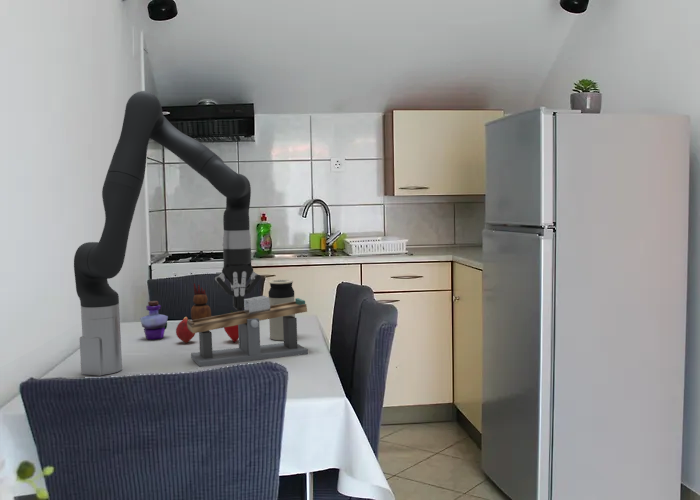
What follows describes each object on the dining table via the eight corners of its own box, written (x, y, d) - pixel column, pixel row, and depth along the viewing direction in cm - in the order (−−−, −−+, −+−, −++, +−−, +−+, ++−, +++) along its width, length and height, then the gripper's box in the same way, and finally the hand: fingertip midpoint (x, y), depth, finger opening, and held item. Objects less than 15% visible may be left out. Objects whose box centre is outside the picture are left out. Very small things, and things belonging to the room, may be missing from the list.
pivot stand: (200, 367, 175) (198, 325, 175) (190, 356, 188) (188, 317, 187) (309, 354, 187) (307, 315, 186) (292, 345, 200) (291, 308, 199)
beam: (193, 333, 177) (191, 322, 177) (187, 328, 184) (186, 317, 184) (307, 311, 190) (305, 301, 189) (298, 307, 197) (296, 297, 196)
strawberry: (232, 345, 202) (231, 312, 201) (219, 341, 208) (218, 309, 207) (249, 342, 206) (248, 309, 205) (236, 338, 211) (235, 307, 211)
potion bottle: (174, 337, 216) (173, 300, 215) (153, 342, 209) (151, 304, 208) (156, 334, 221) (154, 298, 220) (134, 339, 214) (133, 302, 213)
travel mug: (272, 341, 206) (270, 283, 204) (268, 336, 213) (266, 280, 212) (297, 339, 208) (296, 281, 207) (293, 335, 215) (291, 278, 214)
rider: (249, 315, 185) (248, 301, 184) (244, 313, 189) (243, 299, 189) (270, 311, 187) (268, 297, 187) (265, 309, 192) (263, 295, 191)
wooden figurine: (188, 327, 234) (186, 284, 233) (197, 324, 239) (195, 282, 238) (206, 327, 232) (204, 284, 231) (214, 324, 238) (212, 282, 236)
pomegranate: (190, 345, 204) (189, 318, 203) (173, 344, 205) (172, 318, 204) (199, 341, 209) (197, 315, 209) (181, 340, 211) (180, 315, 210)
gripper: (216, 248, 179) (217, 313, 180) (264, 246, 184) (265, 309, 185) (210, 246, 185) (211, 309, 187) (256, 245, 191) (258, 305, 192)
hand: (238, 309), depth 186 cm, fingers closed
